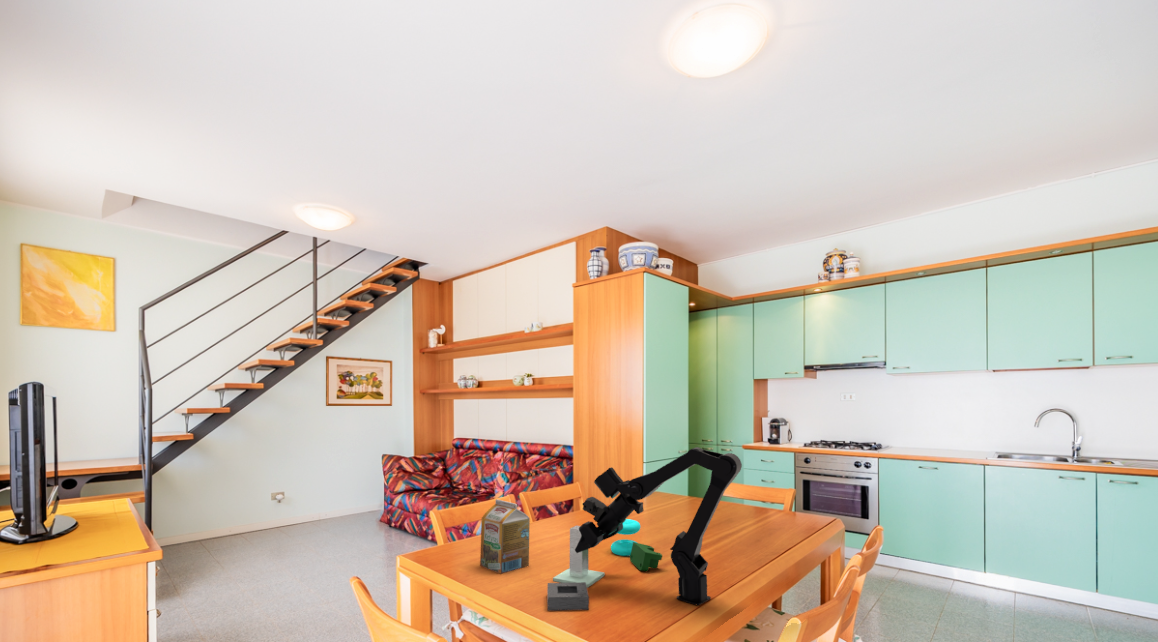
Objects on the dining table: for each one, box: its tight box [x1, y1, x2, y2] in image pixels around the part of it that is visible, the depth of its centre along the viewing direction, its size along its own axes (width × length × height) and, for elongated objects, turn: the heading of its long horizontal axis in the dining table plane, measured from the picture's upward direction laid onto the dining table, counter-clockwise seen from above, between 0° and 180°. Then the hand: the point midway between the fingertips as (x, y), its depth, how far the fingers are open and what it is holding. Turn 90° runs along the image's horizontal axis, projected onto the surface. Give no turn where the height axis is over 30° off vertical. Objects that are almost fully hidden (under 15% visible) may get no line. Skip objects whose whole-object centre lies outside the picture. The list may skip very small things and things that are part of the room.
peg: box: [569, 525, 589, 578], centre depth 151 cm, size 4×4×13 cm
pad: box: [552, 567, 606, 589], centre depth 150 cm, size 11×11×1 cm
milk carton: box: [479, 499, 531, 575], centre depth 162 cm, size 11×11×19 cm
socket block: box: [546, 582, 590, 612], centre depth 133 cm, size 10×10×3 cm
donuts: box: [610, 518, 641, 557], centre depth 176 cm, size 10×10×10 cm
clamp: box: [629, 541, 663, 572], centre depth 162 cm, size 12×6×9 cm, turn 7°
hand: (583, 547), depth 151 cm, fingers open, 9 cm apart
